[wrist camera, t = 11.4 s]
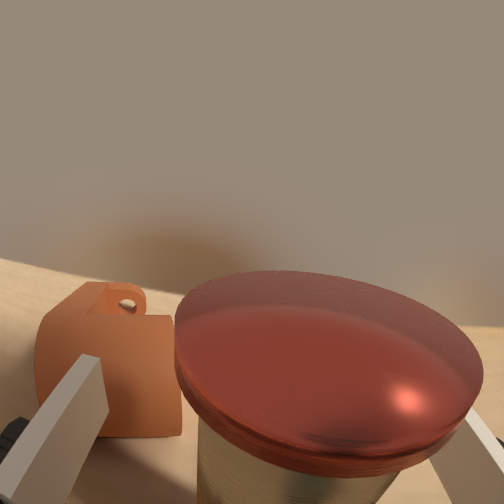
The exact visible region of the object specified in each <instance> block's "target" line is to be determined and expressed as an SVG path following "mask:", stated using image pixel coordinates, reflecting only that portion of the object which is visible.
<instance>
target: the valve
mask: <svg viewBox="0 0 504 504" xmlns="http://www.w3.org/2000/svg"><path fill="white" fill-rule="evenodd" d="M174 369H175V373H176V378H177V381H178V384H179V386H180V388H181V390H182V392H183V395H184V397H185V398H186V399H187V401H188V402H189V404H190V405H191V407H192V408H193V409H194V411H195V412H196V413H197V414H198V415H199V422H198V460H197V504H375V503H376V502H377V501H378V500H379V498H380V497H381V496H382V495H383V494H384V492H385V491H386V490H387V489H388V487H389V486H390V485H391V483H392V482H393V481H394V479H395V478H396V477H397V475H398V474H399V473H400V471H402V470H404V469H407V468H409V467H412V466H414V465H416V464H419V463H421V462H423V461H424V460H426V459H428V458H429V457H431V456H432V455H434V454H435V453H437V452H438V451H439V450H440V449H441V448H443V447H444V446H445V445H446V444H447V443H448V442H449V441H450V440H451V438H452V437H453V435H454V434H455V433H456V431H457V430H458V428H459V427H460V425H461V423H462V422H463V420H464V419H465V417H466V415H467V414H468V412H469V410H470V409H471V407H472V405H473V403H474V402H475V400H476V398H477V396H478V394H479V392H480V389H481V386H482V383H483V366H482V361H481V358H480V356H479V353H478V351H477V350H476V348H475V346H474V345H473V343H472V342H471V341H470V339H469V338H468V337H467V336H466V335H465V334H464V333H463V332H462V331H461V330H460V329H459V328H458V327H457V326H456V325H455V324H453V323H452V322H451V321H449V320H448V319H447V318H445V317H444V316H442V315H441V314H439V313H438V312H436V311H434V310H432V309H431V308H429V307H427V306H425V305H423V304H421V303H419V302H417V301H415V300H413V299H410V298H408V297H406V296H404V295H401V294H398V293H395V292H393V291H390V290H387V289H384V288H381V287H378V286H375V285H371V284H367V283H364V282H360V281H355V280H352V279H347V278H342V277H337V276H330V275H324V274H317V273H309V272H298V271H254V272H244V273H238V274H231V275H228V276H223V277H219V278H216V279H213V280H210V281H208V282H206V283H203V284H201V285H199V286H198V287H196V288H195V289H193V290H192V291H190V292H189V293H188V294H187V295H186V296H185V297H184V298H183V299H182V301H181V302H180V304H179V305H178V308H177V311H176V314H175V327H174Z"/></svg>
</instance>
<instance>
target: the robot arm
mask: <svg viewBox="0 0 504 504" xmlns="http://www.w3.org/2000/svg"><path fill="white" fill-rule="evenodd" d="M108 413H109V407H108V402H107V397H106V391H105V386H104V380H103V374H102V367H101V361H100V358H98V357H94V356H90V355H86V354H82V355H81V356H80V357H79V358H78V360H77V361H76V362H75V363H74V365H73V366H72V367H71V368H70V370H69V371H68V372H67V373H66V375H65V376H64V377H63V379H62V380H61V381H60V382H59V384H58V385H57V386H56V388H55V389H54V390H53V392H52V393H51V394H50V395H49V397H48V398H47V399H46V401H45V402H44V403H43V405H42V406H41V407H40V409H39V410H38V412H37V413H36V414H35V416H34V417H33V418H32V420H31V421H29V420H27V419H24V418H22V417H19V418H17V419H16V420H14V421H12V422H11V423H9V424H8V425H7V427H6V428H5V429H4V430H3V432H2V433H1V436H0V504H65V503H66V501H67V499H68V496H69V494H70V492H71V490H72V487H73V485H74V483H75V481H76V479H77V477H78V474H79V472H80V470H81V468H82V466H83V464H84V462H85V460H86V457H87V455H88V453H89V451H90V449H91V447H92V445H93V443H94V441H95V439H96V437H97V435H98V433H99V431H100V429H101V427H102V425H103V423H104V421H105V419H106V417H107V415H108ZM429 460H430V461H431V463H432V465H433V467H434V469H435V471H436V473H437V475H438V477H439V479H440V480H441V482H442V484H443V486H444V488H445V490H446V492H447V494H448V496H449V498H450V500H451V502H452V504H504V442H502V441H501V440H500V439H498V438H497V437H496V438H495V436H494V435H493V434H492V433H491V431H490V430H489V429H488V427H487V426H486V425H485V423H484V422H483V421H482V420H481V418H480V417H479V416H478V414H477V413H476V412H475V411H474V409H473V408H472V407H471V409H470V410H469V412H468V414H467V415H466V417H465V419H464V420H463V422H462V423H461V425H460V427H459V428H458V430H457V431H456V433H455V434H454V435H453V437H452V438H451V440H450V441H449V442H448V443H447V444H446V445H445V446H444V447H443V448H441V449H440V450H439V451H438V452H437V453H435V454H434V455H432V456H431V457H429Z"/></svg>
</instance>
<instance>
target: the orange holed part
mask: <svg viewBox="0 0 504 504" xmlns="http://www.w3.org/2000/svg"><path fill="white" fill-rule="evenodd" d="M124 299H130V300H132V301H134V302H135V304H136V305H135V306H134V307H133V308H130V309H127V308H124V307H122V306H121V305H120V303H119V302H120V301H122V300H124ZM145 312H146V297H145V294H144V292H143V290H142V289H141V288H140V287H138V286H137V285H135V284H132V283H115V282H86V283H85V284H83V285H82V286H81V287H79V288H78V289H77V290H76V291H74V292H73V293H72V294H71V295H69V296H68V297H67V298H65V299H64V300H63V301H62V302H60V303H59V304H58V305H57V306H55V307H54V308H53V309H52V310H51V311H49V312H48V313H46V315H45V316H44V317H43V319H42V321H41V324H40V327H39V330H38V334H37V339H36V346H35V359H34V371H35V384H36V391H37V397H38V401H39V405H40V407H41V406H42V405H43V403H44V402H45V401H46V399H47V398H48V397H49V395H50V394H51V393H52V392H53V390H54V389H55V388H56V386H57V385H58V384H59V382H60V381H61V380H62V379H63V377H64V376H65V375H66V373H67V372H68V371H69V370H70V368H71V367H72V366H73V365H74V363H75V362H76V361H77V360H78V358H79V357H80V356H81V355H82V354H86V355H90V356H94V357H98V358H100V361H101V367H102V374H103V380H104V386H105V391H106V397H107V402H108V407H109V413H108V415H107V417H106V419H105V421H104V423H103V425H102V427H101V429H100V431H99V433H98V435H97V436H98V437H168V436H181V433H182V404H181V389H180V386H179V384H178V381H177V378H176V373H175V369H174V326H173V321H172V318H171V316H170V315H145Z"/></svg>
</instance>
